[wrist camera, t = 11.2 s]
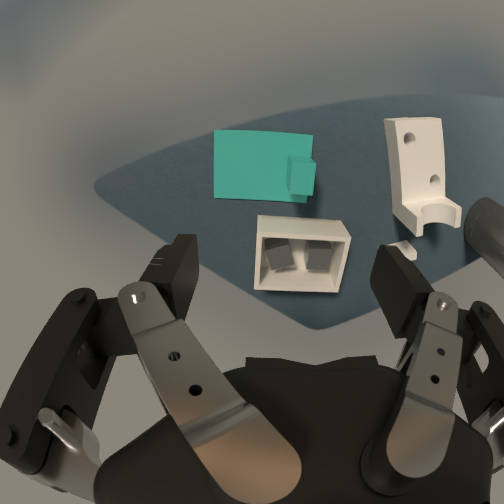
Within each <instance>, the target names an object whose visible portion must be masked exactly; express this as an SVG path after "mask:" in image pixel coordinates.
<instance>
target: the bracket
mask: <svg viewBox="0 0 504 504" xmlns="http://www.w3.org/2000/svg"><path fill="white" fill-rule="evenodd" d="M383 120H384V126H385V133H386V140H387V147H388V156H389V165H390V176H391V189H392V209H393V214H394V215H395V216H396V217H397V218H398V219H399V220H400V221H401V222H402V223H403V224H404V225H405V226H406V227H407V228H408V229H409V230H410V231H411V232H412V233H413V234H414V235H415V236H416V237H418V236H423V225H425V224H427V223H431V222H441V223H446V224H449V225H451V226H453V227H454V228H457V227H460V222H461V209H462V208H461V207H460V206H458V205H457V204H455V203H454V202H452V201H451V200H449V199H448V198H446V197H445V160H444V144H443V132H442V123H441V119H439V118H433V117H416V118H392V119H383Z"/></svg>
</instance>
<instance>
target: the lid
mask: <svg viewBox="0 0 504 504" xmlns="http://www.w3.org/2000/svg"><path fill="white" fill-rule="evenodd" d="M312 144H313V135H305V134H294V133H282V132H267V131H245V130H214V198H230V199H253V200H271V201H287V202H301V203H306V202H307V195H311V196H313V188H314V179H315V170H316V163H315V162H314V161H313V160H312V159H311V155H312Z"/></svg>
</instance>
